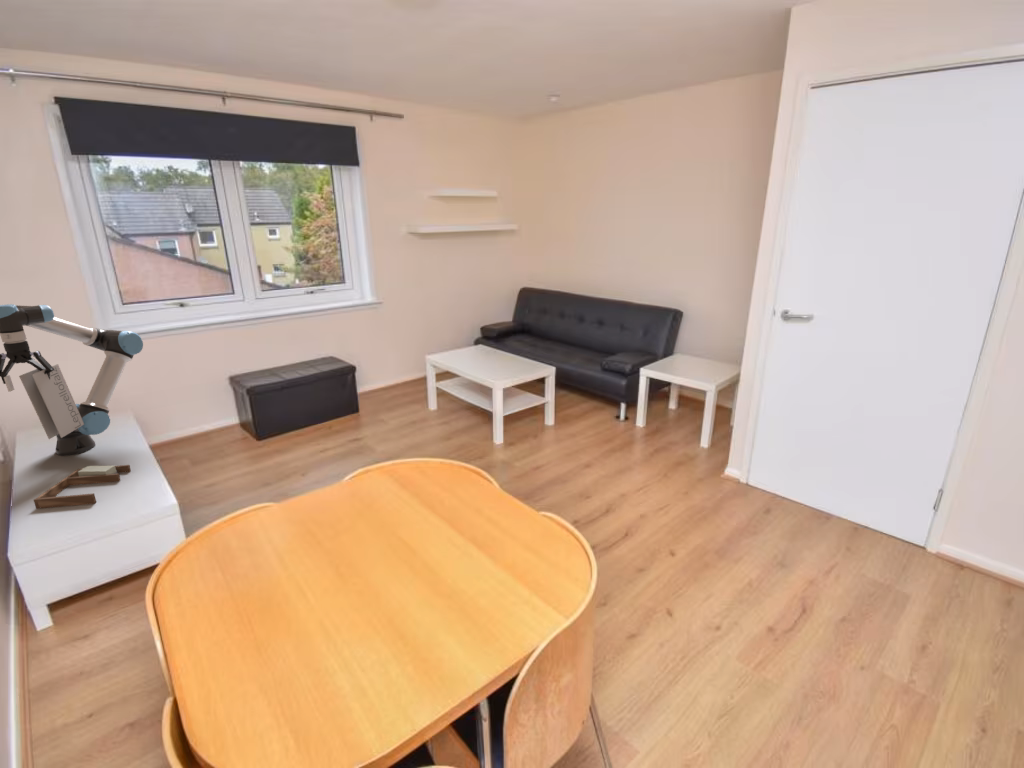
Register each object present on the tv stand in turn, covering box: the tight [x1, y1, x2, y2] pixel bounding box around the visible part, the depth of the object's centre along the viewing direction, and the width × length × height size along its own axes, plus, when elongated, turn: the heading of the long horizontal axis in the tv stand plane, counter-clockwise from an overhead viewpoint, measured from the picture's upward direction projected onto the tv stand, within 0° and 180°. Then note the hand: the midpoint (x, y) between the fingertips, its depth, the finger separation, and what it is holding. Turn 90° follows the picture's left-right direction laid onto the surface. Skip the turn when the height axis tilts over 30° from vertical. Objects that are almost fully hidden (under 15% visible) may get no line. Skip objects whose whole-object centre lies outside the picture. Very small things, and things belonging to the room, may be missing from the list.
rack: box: [33, 464, 132, 510], centre depth 214 cm, size 28×21×4 cm
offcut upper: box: [78, 465, 116, 477], centre depth 222 cm, size 6×12×3 cm, turn 91°
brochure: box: [18, 364, 84, 440], centre depth 223 cm, size 14×6×30 cm, turn 5°
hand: (30, 389), depth 219 cm, fingers open, 13 cm apart
